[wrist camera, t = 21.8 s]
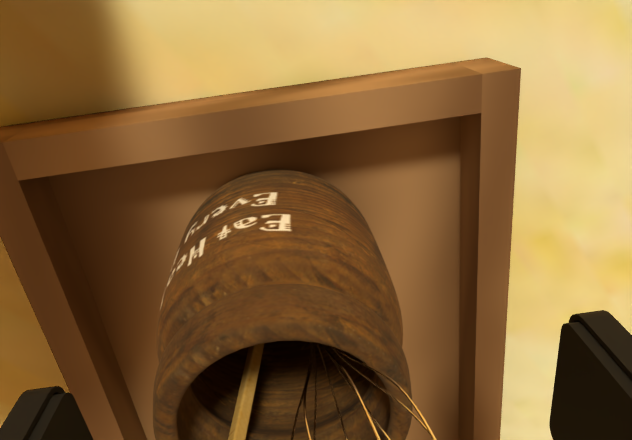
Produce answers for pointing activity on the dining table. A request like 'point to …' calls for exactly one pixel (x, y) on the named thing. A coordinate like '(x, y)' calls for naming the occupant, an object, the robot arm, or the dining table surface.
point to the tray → (270, 154)
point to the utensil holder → (280, 321)
